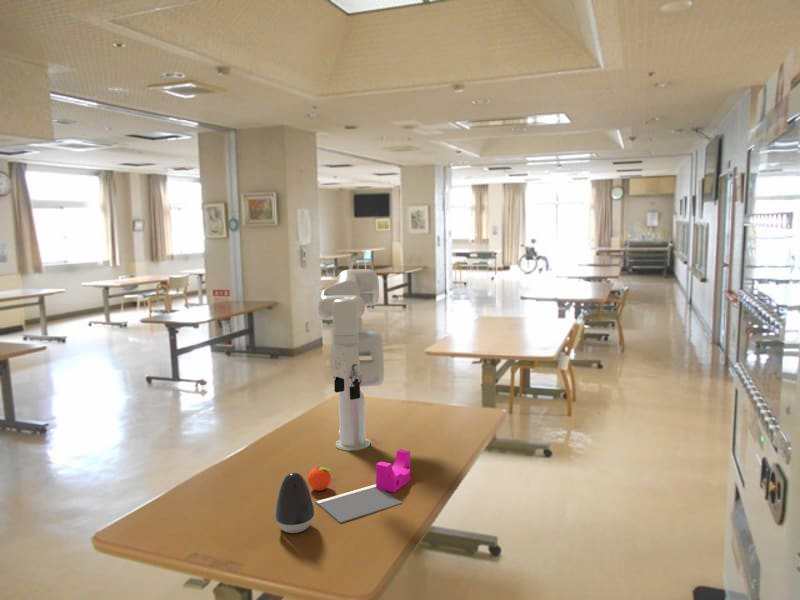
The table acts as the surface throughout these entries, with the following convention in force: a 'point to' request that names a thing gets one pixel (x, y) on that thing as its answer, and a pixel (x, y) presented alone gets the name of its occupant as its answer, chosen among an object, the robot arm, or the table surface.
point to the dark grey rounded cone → (294, 504)
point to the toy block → (393, 472)
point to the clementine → (319, 478)
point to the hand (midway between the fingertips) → (347, 395)
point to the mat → (357, 503)
